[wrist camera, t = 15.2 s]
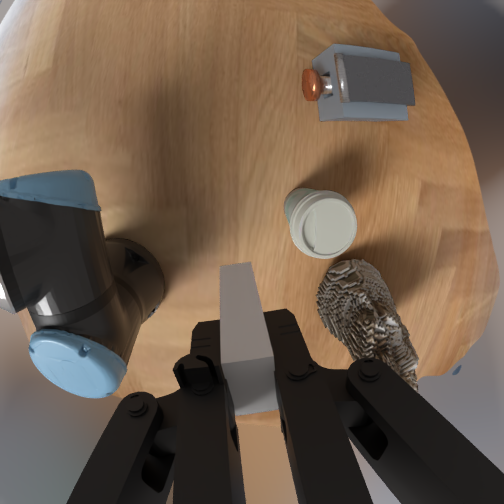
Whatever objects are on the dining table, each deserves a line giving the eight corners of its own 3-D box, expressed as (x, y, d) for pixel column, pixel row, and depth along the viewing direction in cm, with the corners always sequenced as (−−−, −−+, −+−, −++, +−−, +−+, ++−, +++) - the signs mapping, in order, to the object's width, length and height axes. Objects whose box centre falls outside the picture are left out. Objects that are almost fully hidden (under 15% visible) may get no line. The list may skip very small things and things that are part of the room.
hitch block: (319, 121, 38) (343, 117, 30) (311, 60, 35) (333, 43, 26) (376, 121, 39) (408, 120, 31) (369, 64, 35) (398, 53, 27)
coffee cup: (292, 168, 41) (318, 179, 30) (337, 195, 43) (373, 215, 32) (264, 217, 43) (279, 244, 32) (310, 240, 46) (337, 273, 34)
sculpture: (393, 313, 54) (458, 394, 31) (339, 348, 56) (386, 442, 32) (362, 238, 46) (456, 318, 23) (296, 281, 48) (351, 392, 25)
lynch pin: (304, 102, 35) (314, 98, 31) (300, 73, 33) (309, 65, 29) (393, 105, 36) (410, 103, 32) (390, 79, 34) (406, 74, 30)
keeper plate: (339, 103, 29) (342, 101, 28) (332, 55, 27) (335, 52, 25) (411, 107, 29) (416, 106, 28) (405, 63, 26) (409, 61, 25)
